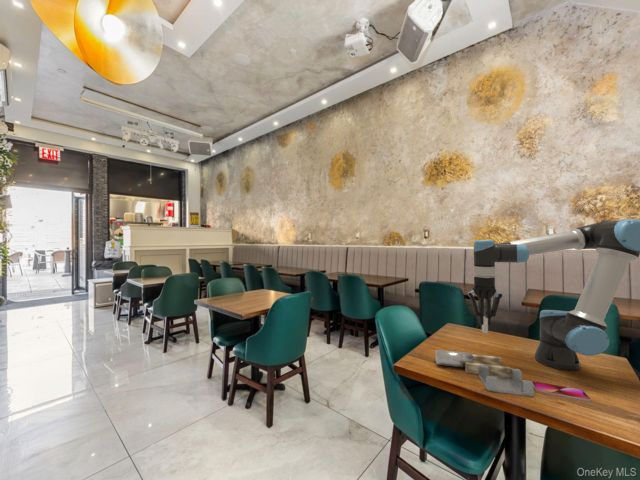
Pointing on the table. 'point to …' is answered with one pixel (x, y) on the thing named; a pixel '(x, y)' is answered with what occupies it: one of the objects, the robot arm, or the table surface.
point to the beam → (489, 361)
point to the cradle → (506, 382)
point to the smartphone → (561, 391)
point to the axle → (453, 358)
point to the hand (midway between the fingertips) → (484, 332)
